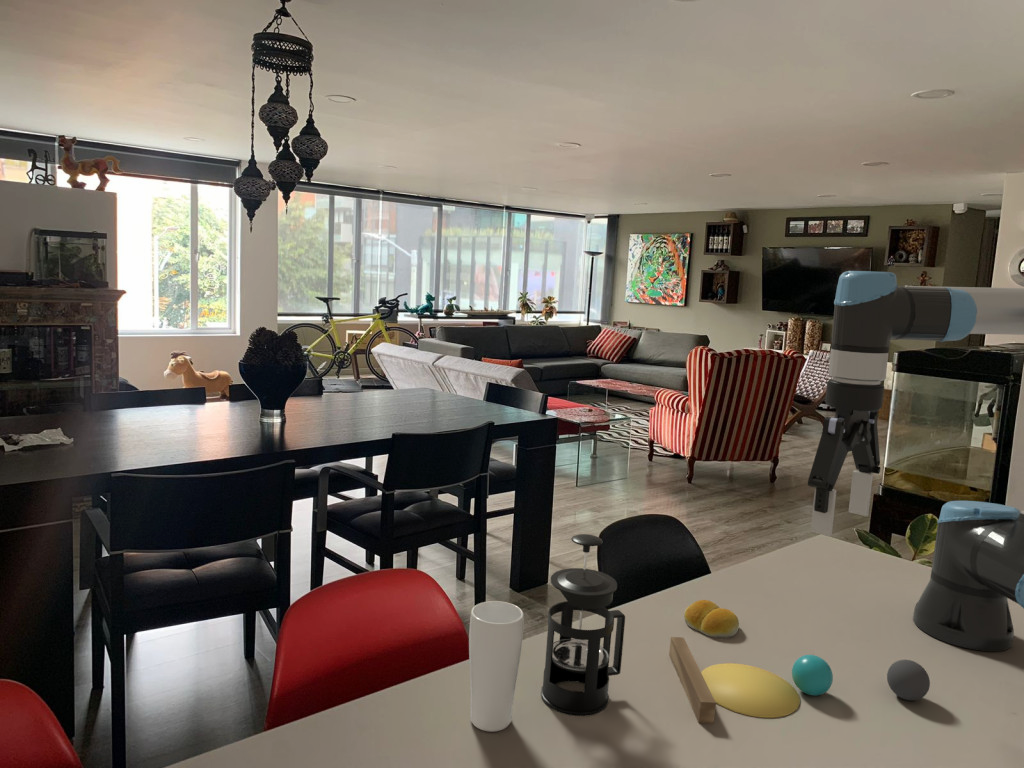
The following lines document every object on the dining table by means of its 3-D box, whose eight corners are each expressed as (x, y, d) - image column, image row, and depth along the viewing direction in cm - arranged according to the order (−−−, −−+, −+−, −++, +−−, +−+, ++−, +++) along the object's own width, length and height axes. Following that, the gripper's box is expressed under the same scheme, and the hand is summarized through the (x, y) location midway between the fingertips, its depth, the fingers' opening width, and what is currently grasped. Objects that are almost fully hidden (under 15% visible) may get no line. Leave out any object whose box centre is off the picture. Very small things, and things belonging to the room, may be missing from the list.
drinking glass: (488, 700, 103) (494, 595, 101) (527, 721, 99) (535, 612, 97) (453, 721, 98) (459, 611, 96) (493, 744, 94) (500, 629, 92)
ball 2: (914, 688, 114) (919, 653, 113) (934, 709, 108) (940, 673, 107) (877, 686, 113) (882, 651, 113) (896, 707, 108) (901, 671, 107)
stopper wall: (681, 655, 119) (683, 637, 119) (713, 723, 101) (715, 702, 101) (669, 654, 119) (670, 636, 118) (698, 722, 101) (700, 701, 101)
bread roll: (720, 644, 124) (723, 621, 123) (675, 623, 131) (678, 601, 130) (748, 631, 129) (751, 609, 129) (704, 611, 136) (706, 590, 135)
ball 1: (820, 683, 113) (825, 648, 112) (836, 704, 108) (841, 667, 107) (784, 681, 113) (788, 646, 112) (798, 702, 108) (802, 665, 107)
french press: (552, 721, 99) (564, 552, 96) (526, 683, 108) (537, 527, 105) (632, 709, 103) (646, 546, 100) (601, 673, 112) (613, 523, 109)
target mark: (778, 666, 117) (779, 665, 117) (815, 720, 103) (815, 718, 103) (688, 662, 117) (688, 661, 117) (713, 715, 103) (713, 713, 103)
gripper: (862, 371, 121) (848, 500, 124) (791, 383, 103) (777, 534, 106) (913, 377, 115) (897, 512, 119) (847, 391, 98) (831, 550, 101)
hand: (840, 523), depth 112 cm, fingers open, 13 cm apart
